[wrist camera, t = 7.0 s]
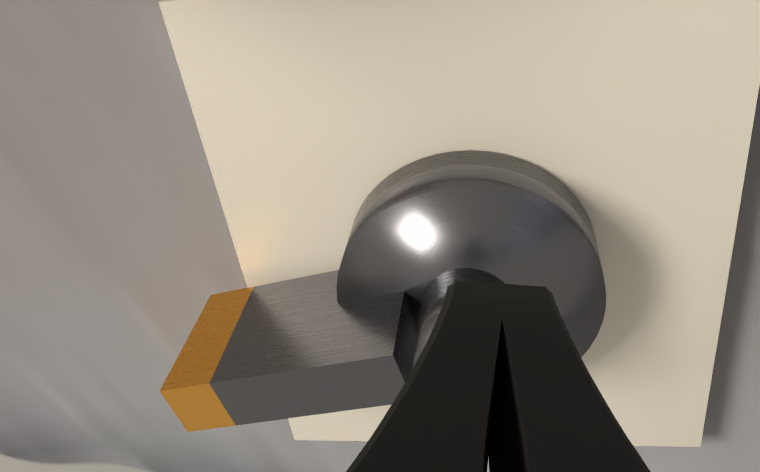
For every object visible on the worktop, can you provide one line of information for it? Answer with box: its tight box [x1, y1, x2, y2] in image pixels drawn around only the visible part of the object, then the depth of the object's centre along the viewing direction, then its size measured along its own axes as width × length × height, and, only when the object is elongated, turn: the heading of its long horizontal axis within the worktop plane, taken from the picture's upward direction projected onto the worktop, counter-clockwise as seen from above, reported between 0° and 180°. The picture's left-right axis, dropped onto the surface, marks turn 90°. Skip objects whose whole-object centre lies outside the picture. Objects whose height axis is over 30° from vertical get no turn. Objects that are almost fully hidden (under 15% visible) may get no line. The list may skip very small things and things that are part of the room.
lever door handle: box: [160, 150, 606, 432], centre depth 19 cm, size 12×7×4 cm, turn 109°
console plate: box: [159, 0, 760, 447], centre depth 20 cm, size 14×16×1 cm
